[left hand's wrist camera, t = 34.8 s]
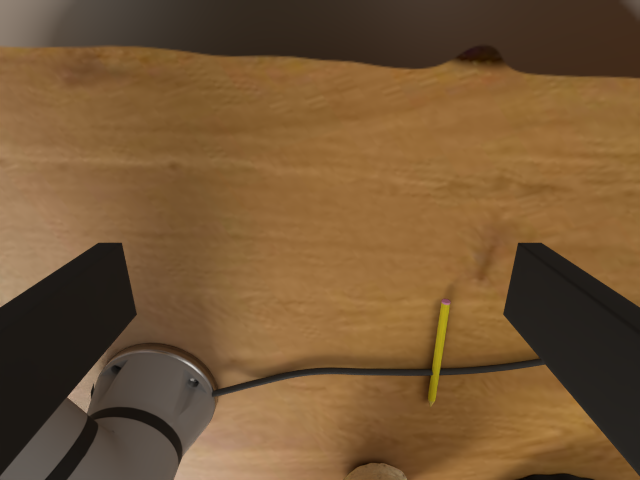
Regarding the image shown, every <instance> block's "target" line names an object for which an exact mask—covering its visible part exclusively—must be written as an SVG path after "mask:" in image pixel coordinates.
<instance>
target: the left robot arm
mask: <svg viewBox="0 0 640 480" xmlns="http://www.w3.org/2000/svg"><path fill="white" fill-rule="evenodd" d="M136 315H137V313H136V309H135V304H134V299H133V294H132V290H131V285H130V280H129V275H128V270H127V266H126V261H125V256H124V251H123V246H122V243H98V244H96V245H95V246H93V247H92V248H90V249H88V250H87V251H85V252H84V253H82V254H81V255H79V256H78V257H76V258H75V259H73V260H72V261H70V262H69V263H67V264H66V265H64V266H63V267H61V268H60V269H58V270H57V271H55V272H54V273H52V274H50V275H49V276H47V277H46V278H44V279H43V280H41V281H40V282H38V283H37V284H35V285H34V286H32V287H31V288H29V289H28V290H26V291H25V292H23V293H22V294H20V295H19V296H17V297H15V298H14V299H12V300H11V301H9V302H8V303H6V304H5V305H3V306H2V307H0V480H174V477H175V475H176V472H177V469H178V466H179V464H180V461H181V459H182V457H183V455H184V454H185V453H186V452H187V450H188V449H189V448H190V447H191V445H192V444H193V443H194V442H195V440H196V439H197V438H198V437H199V435H200V434H201V433H202V432H203V431H204V429H205V428H206V427H207V426H208V424H209V423H210V421H211V419H212V417H213V414H214V411H215V408H216V405H217V401H218V396H220V395H224V394H228V393H232V392H236V391H240V390H243V389H247V388H251V387H255V386H259V385H263V384H267V383H271V382H275V381H280V380H284V379H289V378H294V377H300V376H307V375H318V374H348V375H398V376H428V375H433V372H432V369H356V368H314V369H304V370H297V371H292V372H286V373H282V374H278V375H274V376H270V377H266V378H262V379H257V380H253V381H249V382H245V383H241V384H238V385H234V386H230V387H226V388H222V389H217V385H216V382H215V380H214V378H213V376H212V374H211V373H210V371H209V370H208V368H207V367H206V366H205V365H204V364H203V363H202V362H201V361H199V360H198V359H197V358H196V357H194V356H193V355H191V354H189V353H188V352H186V351H183V350H181V349H179V348H176V347H173V346H169V345H164V344H153V343H152V344H140V345H135V346H132V347H129V348H126V349H124V350H122V351H121V352H119V353H118V354H116V355H115V356H114V357H113V358H112V359H111V360H110V361H109V363H108V364H107V365H106V366H105V368H104V369H103V370H102V372H101V373H100V375H99V377H98V380H97V382H96V386H95V389H94V384H93V387H92V390H91V402H90V405H89V409H88V412H87V413H85V412H84V411H83V410H82V409H81V408H79V407H78V406H77V405H76V404H75V403H73V402H72V401H71V400H70V399H68V398H67V396H68V395H69V394H70V393H71V392H72V390H73V389H74V388H75V387H76V386H77V385H78V383H79V382H80V381H81V380H82V379H83V377H84V376H85V375H86V374H87V373H88V372H89V370H90V369H91V368H92V367H93V366H94V364H95V363H96V362H97V361H98V360H99V359H100V357H101V356H102V355H103V354H104V353H105V351H106V350H107V349H108V348H109V347H110V345H111V344H112V343H113V342H114V341H115V340H116V338H117V337H118V336H119V335H120V334H121V332H122V331H123V330H124V329H125V328H126V327H127V325H128V324H129V323H130V322H131V321H132V319H133V318H134V317H135V316H136ZM503 315H504V316H505V317H506V318H507V319H508V321H509V322H510V323H511V324H512V325H513V327H514V328H515V329H516V330H517V331H518V332H519V334H520V335H521V336H522V337H523V338H524V340H525V341H526V342H527V343H528V344H529V345H530V347H531V348H532V349H533V350H534V351H535V353H536V354H537V355H538V356H539V357H540V359H534V360H528V361H522V362H515V363H508V364H500V365H491V366H480V367H468V368H449V369H440V373H439V375H458V374H474V373H486V372H496V371H505V370H513V369H520V368H526V367H533V366H539V365H545V364H546V366H547V367H548V368H549V369H550V370H551V372H552V373H553V374H554V375H555V376H556V377H557V379H558V380H559V381H560V382H561V383H562V385H563V386H564V387H565V388H566V389H567V390H568V392H569V393H570V394H571V395H572V396H573V398H574V399H575V400H576V401H577V402H578V404H579V405H580V406H581V407H582V408H583V409H584V411H585V412H586V413H587V414H588V415H589V417H590V418H591V419H592V420H593V421H594V422H595V424H596V425H597V426H598V427H599V428H600V430H601V431H602V432H603V433H604V434H605V436H606V437H607V438H608V439H609V440H610V441H611V443H612V444H613V445H614V446H615V447H616V449H617V450H618V451H619V452H620V453H621V454H622V456H623V457H624V458H625V459H626V460H627V462H628V463H629V464H630V465H631V466H632V467H633V469H634V470H635V471H636V472H637V473H638V475H639V476H640V307H638V306H637V305H635V304H634V303H632V302H631V301H629V300H628V299H626V298H625V297H623V296H621V295H620V294H618V293H617V292H615V291H614V290H612V289H611V288H609V287H608V286H606V285H605V284H603V283H602V282H600V281H599V280H597V279H596V278H594V277H593V276H591V275H590V274H588V273H586V272H585V271H583V270H582V269H580V268H579V267H577V266H576V265H574V264H573V263H571V262H570V261H568V260H567V259H565V258H564V257H562V256H561V255H559V254H558V253H556V252H555V251H553V250H552V249H550V248H548V247H547V246H545V245H544V244H542V243H518V246H517V251H516V256H515V261H514V266H513V270H512V275H511V280H510V285H509V290H508V294H507V299H506V304H505V309H504V313H503Z"/></svg>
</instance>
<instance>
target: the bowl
mask: <svg viewBox="0 0 640 480" xmlns="http://www.w3.org/2000/svg"><path fill="white" fill-rule="evenodd" d="M344 480H407V478H406V476H405V475H404V473H403V472H402V471H401V470H399V469H397V468H395V467H393V466H390V465H387V464H385V463H380V464H379V463H369V464H367V465H362V466H359V467H357V468H356V469H354V470H353V471H352V472H351V473H349V474H348V475H347V476H346V477H345V478H344Z"/></svg>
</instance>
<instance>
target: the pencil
mask: <svg viewBox="0 0 640 480" xmlns="http://www.w3.org/2000/svg"><path fill="white" fill-rule="evenodd" d="M449 308H450V300H448V299H442V302H441V309H440V316H439V323H438V330H437V337H436V344H435V351H434V358H433V365H432V372H433V375H431V379H430V386H429V393H428V401H429V405H430V407H431V406H432V404H433V403H434V402H435V399H436V392H437V386H438V379H439V373H440V366H441V360H442V353H443V347H444V340H445V334H446V327H447V321H448V314H449Z"/></svg>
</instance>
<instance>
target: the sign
mask: <svg viewBox="0 0 640 480" xmlns="http://www.w3.org/2000/svg"><path fill="white" fill-rule="evenodd" d="M521 480H593V479H585V478H579V477H576V476H573V475H569V474H559V475H552V476H548V475H534V476H530V477H527V478H524V479H521Z"/></svg>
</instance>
